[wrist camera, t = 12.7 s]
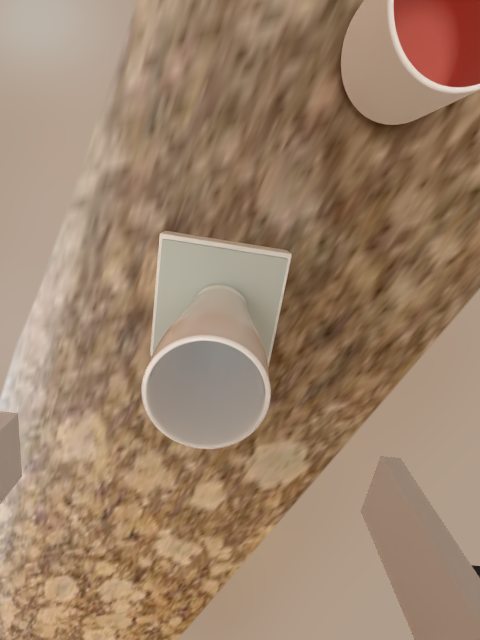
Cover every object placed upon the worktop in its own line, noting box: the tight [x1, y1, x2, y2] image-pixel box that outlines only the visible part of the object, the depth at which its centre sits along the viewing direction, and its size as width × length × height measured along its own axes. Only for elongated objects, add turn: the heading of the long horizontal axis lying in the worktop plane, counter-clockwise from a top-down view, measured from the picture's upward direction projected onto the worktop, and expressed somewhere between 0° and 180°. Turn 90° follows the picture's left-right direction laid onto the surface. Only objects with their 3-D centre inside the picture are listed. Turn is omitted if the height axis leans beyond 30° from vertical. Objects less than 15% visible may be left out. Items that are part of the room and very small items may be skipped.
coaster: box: [150, 231, 292, 367], centre depth 33 cm, size 12×12×4 cm
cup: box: [341, 0, 480, 125], centre depth 24 cm, size 10×10×10 cm
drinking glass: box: [141, 284, 271, 449], centre depth 24 cm, size 7×7×15 cm
